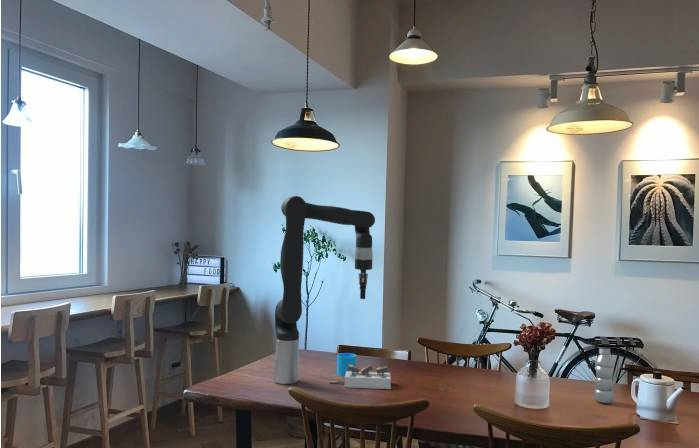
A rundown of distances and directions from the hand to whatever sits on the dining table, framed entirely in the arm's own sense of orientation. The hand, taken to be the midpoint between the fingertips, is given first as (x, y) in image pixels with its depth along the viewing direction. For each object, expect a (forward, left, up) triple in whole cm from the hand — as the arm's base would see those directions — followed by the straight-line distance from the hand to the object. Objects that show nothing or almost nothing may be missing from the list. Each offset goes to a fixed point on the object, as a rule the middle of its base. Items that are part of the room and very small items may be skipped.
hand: (362, 298), depth 229 cm
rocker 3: (+9, -12, -28) cm, 32 cm away
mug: (-6, +5, -33) cm, 34 cm away
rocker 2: (+3, -12, -28) cm, 30 cm away
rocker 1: (-3, -12, -28) cm, 30 cm away
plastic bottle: (+91, -25, -33) cm, 100 cm away
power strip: (0, -13, -33) cm, 35 cm away
